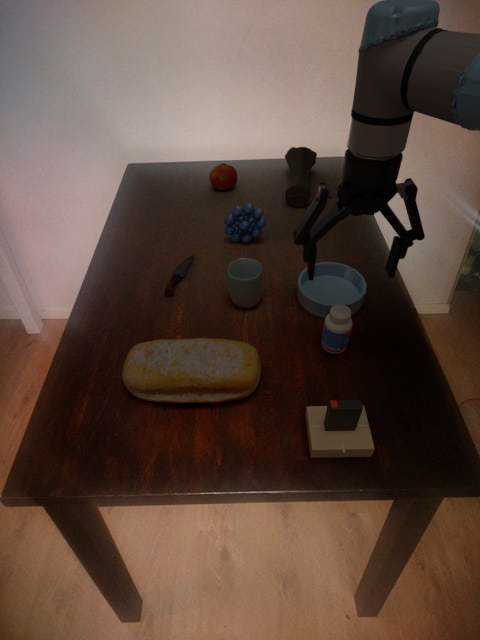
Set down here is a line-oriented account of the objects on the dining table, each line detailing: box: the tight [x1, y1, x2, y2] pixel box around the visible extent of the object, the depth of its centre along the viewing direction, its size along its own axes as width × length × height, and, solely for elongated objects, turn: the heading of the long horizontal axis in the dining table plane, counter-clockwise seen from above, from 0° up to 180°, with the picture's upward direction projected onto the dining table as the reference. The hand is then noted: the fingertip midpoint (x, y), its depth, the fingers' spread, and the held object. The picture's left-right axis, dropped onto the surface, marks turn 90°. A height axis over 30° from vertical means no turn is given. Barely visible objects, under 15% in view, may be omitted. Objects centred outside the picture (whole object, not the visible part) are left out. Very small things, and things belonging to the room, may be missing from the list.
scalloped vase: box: [284, 146, 318, 208], centre depth 125 cm, size 11×10×28 cm
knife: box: [163, 255, 194, 298], centre depth 98 cm, size 17×2×5 cm
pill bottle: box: [320, 304, 353, 355], centre depth 77 cm, size 6×5×10 cm
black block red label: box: [324, 399, 363, 431], centre depth 61 cm, size 5×2×7 cm, turn 90°
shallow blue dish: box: [296, 261, 368, 319], centre depth 89 cm, size 15×16×4 cm
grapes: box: [224, 202, 268, 244], centre depth 104 cm, size 12×7×12 cm, turn 84°
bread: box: [121, 337, 262, 405], centre depth 73 cm, size 13×26×8 cm, turn 90°
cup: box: [226, 257, 264, 309], centre depth 87 cm, size 8×8×10 cm
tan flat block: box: [304, 404, 375, 459], centre depth 65 cm, size 10×9×3 cm
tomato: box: [209, 162, 238, 191], centre depth 127 cm, size 9×9×8 cm
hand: (349, 274), depth 66 cm, fingers open, 13 cm apart
